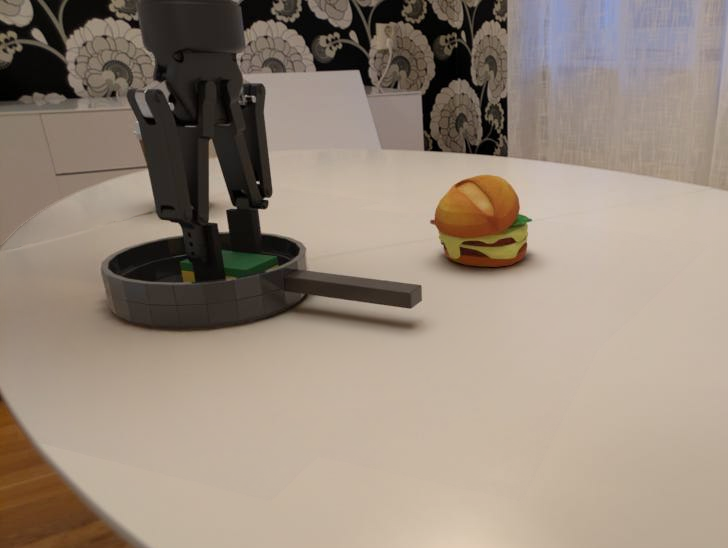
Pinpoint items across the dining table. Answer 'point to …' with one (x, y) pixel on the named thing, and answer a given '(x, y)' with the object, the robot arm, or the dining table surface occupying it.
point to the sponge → (235, 265)
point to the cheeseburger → (482, 223)
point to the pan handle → (353, 288)
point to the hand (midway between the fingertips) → (232, 287)
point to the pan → (197, 285)
